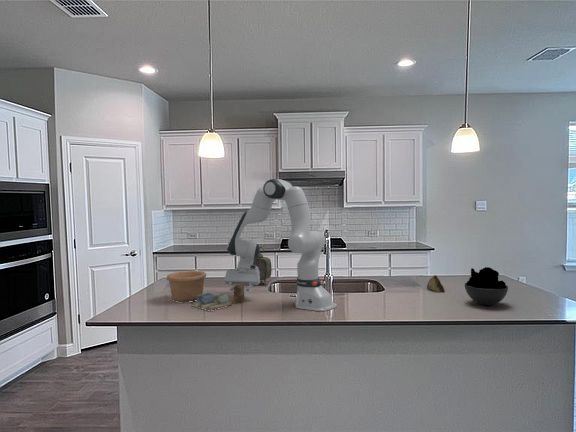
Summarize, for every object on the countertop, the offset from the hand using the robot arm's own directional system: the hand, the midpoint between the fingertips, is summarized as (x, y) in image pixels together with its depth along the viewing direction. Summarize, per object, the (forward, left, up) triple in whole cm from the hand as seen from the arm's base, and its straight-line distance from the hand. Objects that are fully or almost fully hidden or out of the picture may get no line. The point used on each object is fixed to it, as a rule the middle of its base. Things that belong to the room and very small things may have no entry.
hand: (239, 290), depth 222 cm
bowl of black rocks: (-106, -75, -7) cm, 130 cm away
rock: (-74, -89, -7) cm, 116 cm away
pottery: (+28, +15, -7) cm, 33 cm away
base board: (+5, +15, -6) cm, 17 cm away
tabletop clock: (+23, -38, -7) cm, 45 cm away
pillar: (-1, +1, -6) cm, 6 cm away
